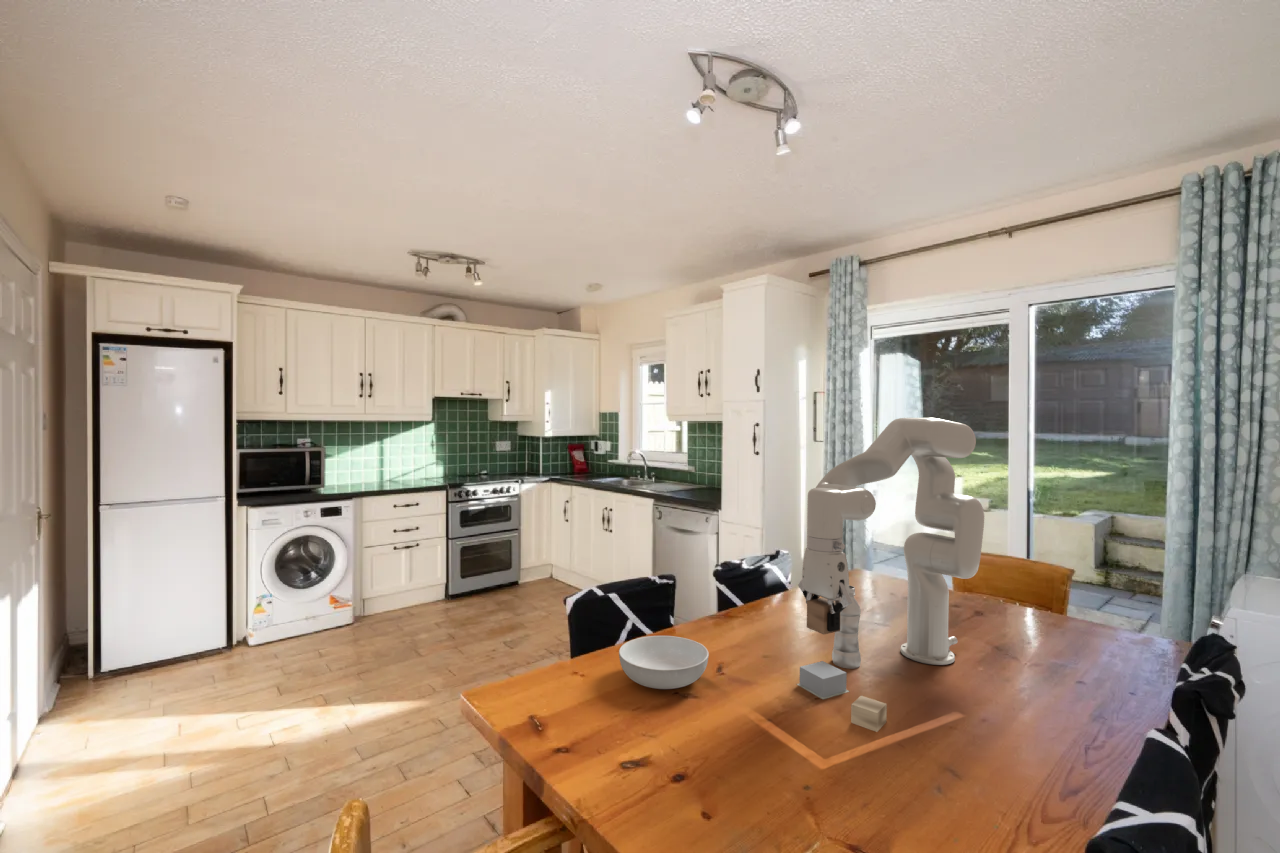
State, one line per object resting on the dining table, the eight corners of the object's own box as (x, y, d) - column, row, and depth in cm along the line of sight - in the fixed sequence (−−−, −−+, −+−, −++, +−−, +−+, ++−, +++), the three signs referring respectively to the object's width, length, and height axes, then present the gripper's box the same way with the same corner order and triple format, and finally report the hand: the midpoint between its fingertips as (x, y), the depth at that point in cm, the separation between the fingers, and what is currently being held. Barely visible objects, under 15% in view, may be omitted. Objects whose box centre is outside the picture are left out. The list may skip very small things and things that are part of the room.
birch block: (860, 720, 117) (861, 695, 117) (886, 729, 114) (886, 703, 114) (851, 729, 113) (851, 704, 113) (877, 739, 110) (877, 713, 110)
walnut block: (823, 623, 131) (823, 597, 131) (840, 630, 127) (840, 603, 127) (806, 627, 129) (807, 600, 129) (823, 634, 125) (823, 606, 124)
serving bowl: (719, 671, 139) (720, 642, 139) (690, 709, 120) (690, 677, 120) (641, 655, 148) (641, 629, 148) (602, 689, 129) (602, 659, 129)
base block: (822, 678, 133) (822, 660, 133) (846, 690, 127) (846, 672, 127) (799, 684, 130) (799, 666, 129) (823, 697, 123) (823, 679, 123)
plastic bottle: (863, 675, 137) (864, 591, 137) (833, 672, 139) (834, 589, 139) (858, 664, 144) (859, 584, 144) (830, 661, 145) (830, 582, 145)
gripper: (867, 550, 122) (866, 636, 122) (809, 536, 137) (808, 612, 137) (842, 553, 119) (841, 642, 119) (784, 538, 134) (783, 617, 134)
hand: (823, 625), depth 128 cm, fingers closed on walnut block, 5 cm apart
